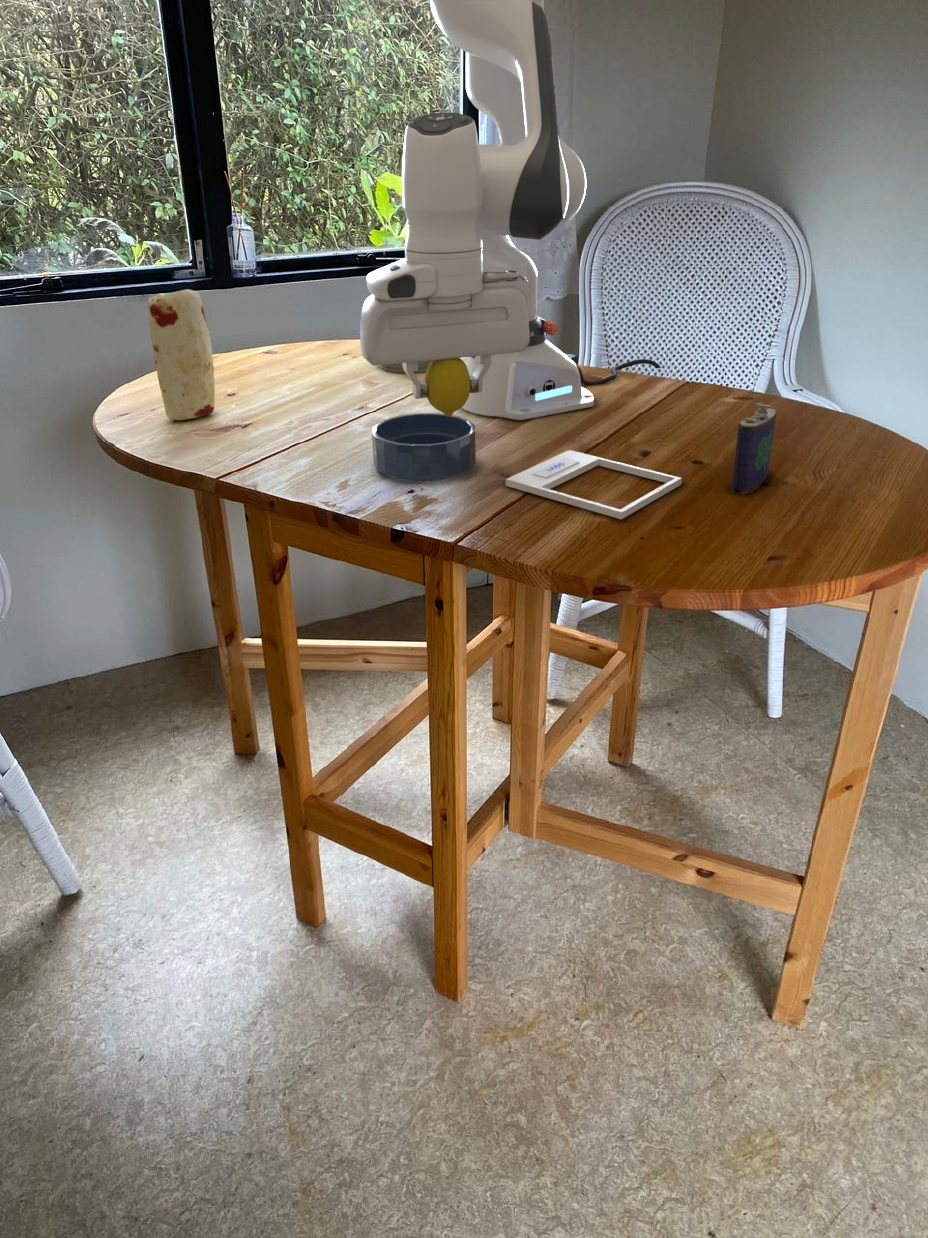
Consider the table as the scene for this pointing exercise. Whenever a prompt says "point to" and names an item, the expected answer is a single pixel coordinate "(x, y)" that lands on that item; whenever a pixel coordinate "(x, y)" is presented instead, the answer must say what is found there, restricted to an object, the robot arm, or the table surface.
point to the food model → (182, 354)
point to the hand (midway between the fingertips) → (447, 394)
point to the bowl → (424, 446)
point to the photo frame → (576, 463)
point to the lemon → (448, 384)
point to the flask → (753, 450)
